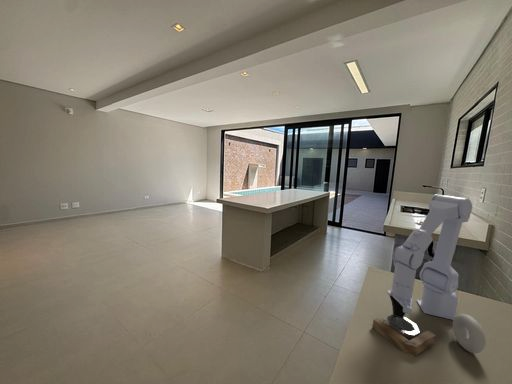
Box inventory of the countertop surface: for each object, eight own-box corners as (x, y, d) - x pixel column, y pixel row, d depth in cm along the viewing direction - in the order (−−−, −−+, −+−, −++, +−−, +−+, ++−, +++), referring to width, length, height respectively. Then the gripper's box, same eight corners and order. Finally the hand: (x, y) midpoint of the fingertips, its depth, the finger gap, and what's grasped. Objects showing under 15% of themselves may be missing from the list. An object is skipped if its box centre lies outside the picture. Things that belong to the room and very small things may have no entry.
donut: (485, 363, 59) (493, 331, 58) (471, 361, 60) (478, 329, 59) (459, 335, 69) (465, 307, 68) (447, 333, 70) (452, 305, 68)
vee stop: (431, 340, 67) (433, 331, 66) (445, 365, 58) (447, 355, 58) (371, 324, 72) (372, 316, 72) (376, 345, 64) (378, 336, 64)
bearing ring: (411, 328, 71) (413, 319, 71) (421, 348, 64) (423, 337, 63) (384, 321, 74) (385, 312, 73) (389, 339, 66) (391, 329, 66)
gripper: (384, 269, 80) (379, 302, 82) (395, 291, 66) (389, 330, 68) (406, 273, 77) (401, 307, 79) (422, 297, 64) (415, 337, 66)
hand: (397, 318), depth 73 cm, fingers closed
